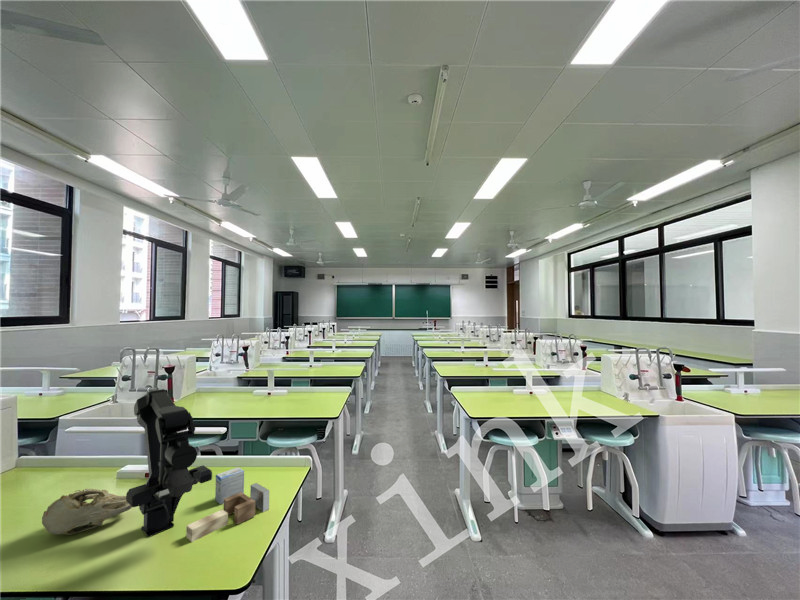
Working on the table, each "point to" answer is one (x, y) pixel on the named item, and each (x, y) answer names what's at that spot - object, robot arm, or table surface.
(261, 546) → the table surface
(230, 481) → the medicine box
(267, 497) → the wall
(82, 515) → the skull
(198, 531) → the block
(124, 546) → the table surface
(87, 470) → the table surface
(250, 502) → the cradle
